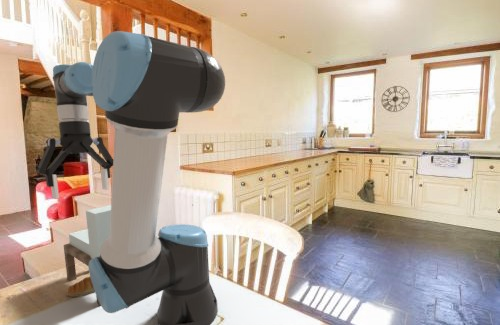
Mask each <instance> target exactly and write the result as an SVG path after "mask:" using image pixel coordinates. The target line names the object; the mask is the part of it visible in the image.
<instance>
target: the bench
mask: <svg viewBox="0 0 500 325" xmlns="http://www.w3.org/2000/svg"><path fill="white" fill-rule="evenodd" d="M63 252H64V261H65V271H66V277H67V278H66V279H67V281H68V282H72V281H74V280H77V271H76V270H77V269H76V263H75V262H76V260H78V261H79V262H81V263H82V264H84V265H85V266H87V267H88V264H89V261H90V260H91V259H92V258H91V257H90V255H88V254H86V253H84V252H83V251H81V250H79V249H78V248H76V247H74V246H72V245H71V244H70V242H69V243H65V244H63ZM95 297H96V304H97V305H98V306H100V307H102V306H101V304H100V302H99V300H98V298H97V296H96V295H95Z"/></svg>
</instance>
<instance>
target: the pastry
mask: <svg viewBox="0 0 500 325" xmlns="http://www.w3.org/2000/svg"><path fill="white" fill-rule="evenodd" d="M92 293H95V290H94V287H93V284H92V281H91V277H90V276H86V277H85V278H83V279H81V280H80V281H78V282H75V283H74V284H73V285H71V286H69V288H67V290H66V295H67V296H69V297H73V298H74V297H80V296H86V295H88V294H92Z"/></svg>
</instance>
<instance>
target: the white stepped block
mask: <svg viewBox="0 0 500 325" xmlns="http://www.w3.org/2000/svg"><path fill="white" fill-rule="evenodd" d="M85 218H86V229H85V228H84V229H81V230H78V231H74V232H70V233H68V239H69V243H70V244H71V245H72V246H74V247H76V248H78V249H79V250H81V251H83V252H84V253H86V254H88V255H90V257H91V258H92V259H93V258H95V257H100V250H101V246H102V244H103V242H104V241H105V240H106V239H107V238H109V237H110V219H111V204H109V205H105V206H100V207H96V208H95V207H94V208H91V209H87V210H85Z"/></svg>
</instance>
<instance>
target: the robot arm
mask: <svg viewBox="0 0 500 325" xmlns="http://www.w3.org/2000/svg"><path fill="white" fill-rule="evenodd" d="M52 80H53V86H54V92H55V99H56V109H57V117H58V119H57V120H58V121H60V122H59V123H58V127H59V128H58V129H59V135H60V136H59V139H58V138H57V139H56V138H53V137H52V138H48V139H47V140H46V148H45V150H44V153H43V155H42V156H41V157H42V158H41V159H40V161H39V164H38V166H37V168H36V170H35V172H36V173H37V174H40V175H44V176H45V183H46V187H48V188H50V189H51V197H52V198H53V199H60V195H59V184H58V178H57V177H58V176H57V174H54V173H55V172H56V170H57V169H58V168H59V167H60V165H61V164H62V162H64V160H65V159H66V158H67V156H69V155H70V154H71V155H72V154H87V155H89V156H90V158H92V159H93V160H94V161H96V163H97V164H99V165H100V166H101V167H102V168H100V169H99V170H100V178H101V187H102V190H110V186H109V179H110V178H111V170H110V169H111V168H112V180H111V182H112V183H111V184H112V186H111V202H110V203H111V204H110V205H111V219H110V237H109V238H107V239H106V240H105V241H104V242H103V244H102V246H101V250H100V257H95V258H93V259H91V260H90V261H89V264H88V266H87V267H88V273H89V277H91V281H92V284H93V287H94V290H95V292H94V293H95V297H96V296H97V298H98V300H99V302H100V304H101V306H100V307H101V308H102V310H104V312H106V313H109V314H115V313H117V312H119V311H122V310H125V309H128V308H130V307H131V306H133V305H135V304H138V303H139V302H141V301H143V300H146V299H148V298H149V297H152V296H154V295H155V294H156V295H157V294H158V293H160V292H162V293H161V298H160V302H159V306H158V308H157V313H156V314H157V324H158V325H211V323H213V322H214V320H215V319H216V317H217V315H218V311H219V310H218V309H219V308H218V299H217V297H216V294H215V293H214V289H213V287H212V285H211V283H210V270H209V243H208V234H207V232H206V230H205V229H204V228H202V227H200V226H197V225H192V224H186V223H185V224H182V223H181V224H171V225H166V226H163V227H162V228H160V229H159V230H158V233H156V232H157V225H158V218H159V216H158V215H159V207H160V201H161V200H160V199H161V192H162V184H163V174H164V166H165V160H166V159H165V158H166V149H167V142H168V141H167V140H168V134H169V133H171V132H172V131H174V130H176V129H177V128H178V124H179V117H180V113H191V114H192V113H201V112H205V111H208V110H210V109H212V108H214V106H216V105H217V104H218V103H219V101H220V100H221V99H222V97H223V95H224V92H225V89H226V76H225V73H224V70H223V67H222V65H220V62H219V61H218V60H217V59H216V58H215V57H214V56H213V55H212V54H211V53H209V52H208V51H205V50H203V49H202V48H199V47H198V48H197V47H194V46H188V45H184V44H182V43H176V42H173V41H168V40H164V39H161V38H157V37H152V36H149V35H146V34H144V33H135V32H129V31H123V30H122V31H121V30H116V31H112V32H110V33H109V34H107V35H106V36H104V38H103V39H102V41H101V43H100V44H99V46H98V48H97V49H96V53H95V56H94V59H93V64H92V63H89V62H85V61H78V62H75V63H73V64H67V63H66V64H62V63H61V64H57V65H54V66H53V68H52ZM88 97H93V100H94V103H95V105H96V106H97V107H98V108H99V109H101V110H104V112H105V114H104V118H105V119H106V121H108V122H109V124H110V125H111V126H112V127H113V128H114V142H113V156H112V155H111V154H110V152H109V150H108V149H107V147H106V145H105V144H104V141H103V137H99V136H98V137H95V138H92V136H91V126H90V122H89V120H90V116H89V107H88V106H89V105H88V99H87V98H88ZM92 144H94V145H95V146H96V148H97V150H98V151H99V152H100V154H101V156H102V157H101V156H100V154H99V153H97V152H96V150H95V149H94V148H93V147H91V146H92ZM59 145H60V146H61V147H62V149H61V150H60V151H59V154H58V155H56V157H55V158H54V160H53V161H52V162H51V164H50V165H49V162H50V160H51V158H52V156H53V155H54V152H55V150H56V147H58V146H59ZM48 165H49V166H48ZM156 234H157V235H156ZM157 236H158V237H157ZM97 298H96V299H97Z"/></svg>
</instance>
